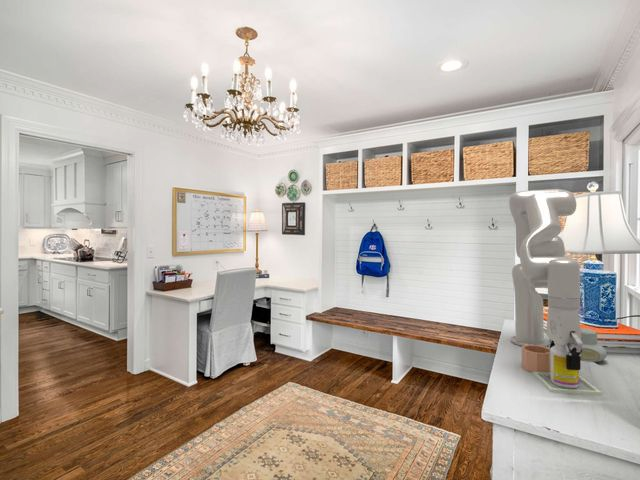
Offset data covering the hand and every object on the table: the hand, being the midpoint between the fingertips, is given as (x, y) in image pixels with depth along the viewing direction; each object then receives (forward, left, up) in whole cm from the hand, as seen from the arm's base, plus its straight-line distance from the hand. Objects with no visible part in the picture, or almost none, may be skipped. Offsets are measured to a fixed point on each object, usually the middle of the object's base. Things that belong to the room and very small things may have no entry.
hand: (564, 362), depth 98 cm
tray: (0, 0, -7) cm, 7 cm away
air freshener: (-24, +17, -7) cm, 30 cm away
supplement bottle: (0, 0, -6) cm, 6 cm away
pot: (-11, -3, -7) cm, 13 cm away
